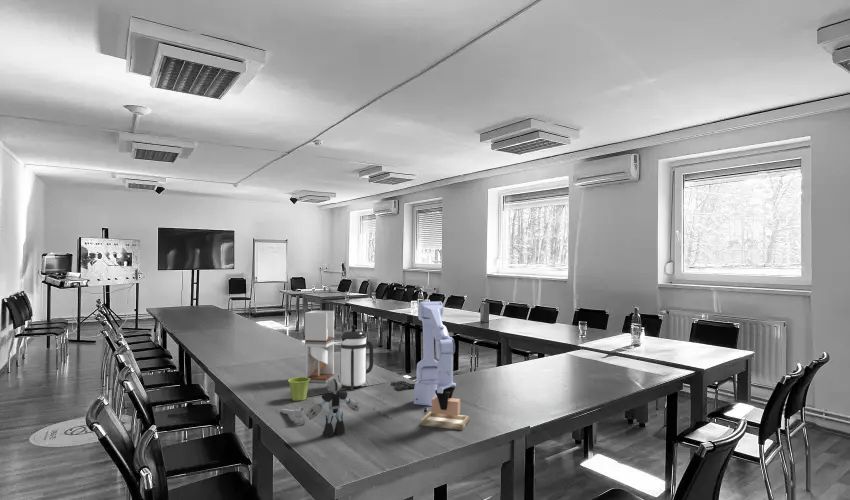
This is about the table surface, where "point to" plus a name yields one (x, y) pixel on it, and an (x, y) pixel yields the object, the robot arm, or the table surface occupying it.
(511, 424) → the table surface
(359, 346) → the coffee press
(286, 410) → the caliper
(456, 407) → the salmon orange block
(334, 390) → the robot
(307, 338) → the white and brown tower
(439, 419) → the wooden tray
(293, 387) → the plant pot
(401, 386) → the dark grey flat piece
